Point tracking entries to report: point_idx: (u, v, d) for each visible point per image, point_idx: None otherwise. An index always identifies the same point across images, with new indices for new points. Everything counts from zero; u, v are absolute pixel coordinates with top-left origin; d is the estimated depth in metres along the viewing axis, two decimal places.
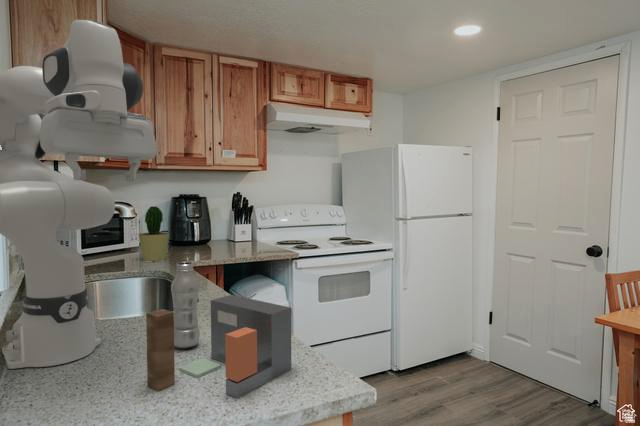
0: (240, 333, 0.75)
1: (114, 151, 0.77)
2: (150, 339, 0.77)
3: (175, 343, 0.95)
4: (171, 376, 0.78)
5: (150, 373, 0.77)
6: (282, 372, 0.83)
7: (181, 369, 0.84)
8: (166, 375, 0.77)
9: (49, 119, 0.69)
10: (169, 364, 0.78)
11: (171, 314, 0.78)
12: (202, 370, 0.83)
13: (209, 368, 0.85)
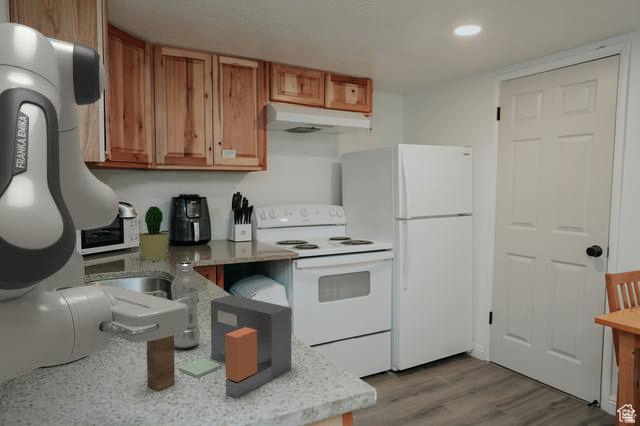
0: (240, 333, 0.75)
1: None
2: None
3: (175, 343, 0.95)
4: (171, 376, 0.78)
5: (150, 373, 0.77)
6: (282, 372, 0.83)
7: (181, 369, 0.84)
8: (166, 375, 0.77)
9: None
10: (169, 364, 0.78)
11: None
12: (202, 370, 0.83)
13: (209, 368, 0.85)
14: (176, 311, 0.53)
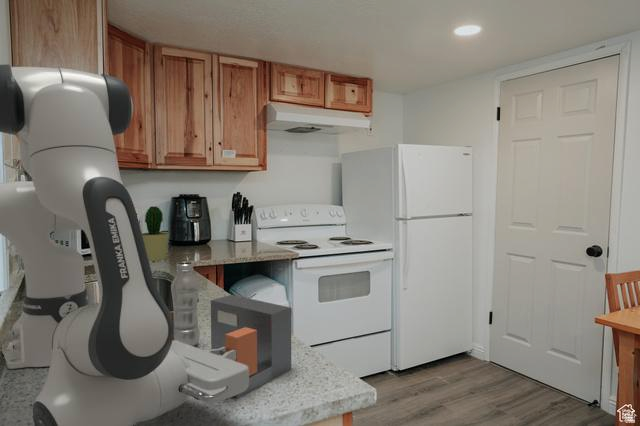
0: (240, 333, 0.75)
1: None
2: None
3: None
4: None
5: None
6: (282, 372, 0.83)
7: None
8: None
9: None
10: None
11: (171, 314, 0.78)
12: None
13: None
14: (240, 373, 0.62)
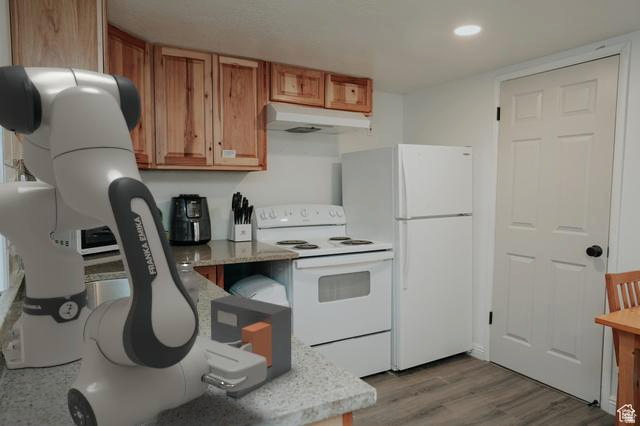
0: (256, 327, 0.78)
1: None
2: None
3: None
4: None
5: None
6: (282, 372, 0.83)
7: None
8: None
9: None
10: None
11: None
12: None
13: None
14: (259, 364, 0.65)
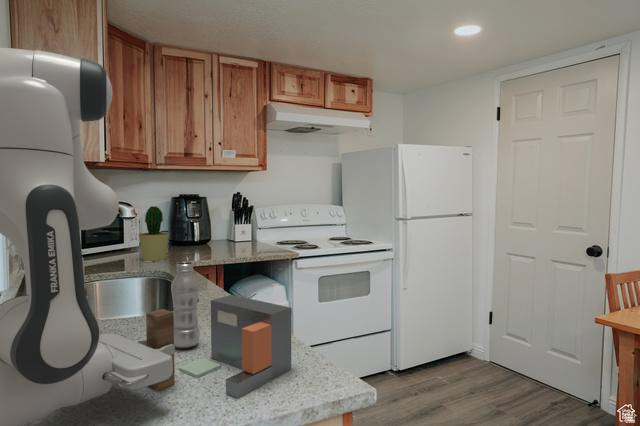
0: (256, 327, 0.78)
1: None
2: (150, 339, 0.77)
3: (175, 343, 0.95)
4: (171, 376, 0.78)
5: None
6: (282, 372, 0.83)
7: (181, 369, 0.84)
8: None
9: None
10: None
11: (171, 314, 0.78)
12: (202, 370, 0.83)
13: (209, 368, 0.85)
14: (162, 363, 0.67)
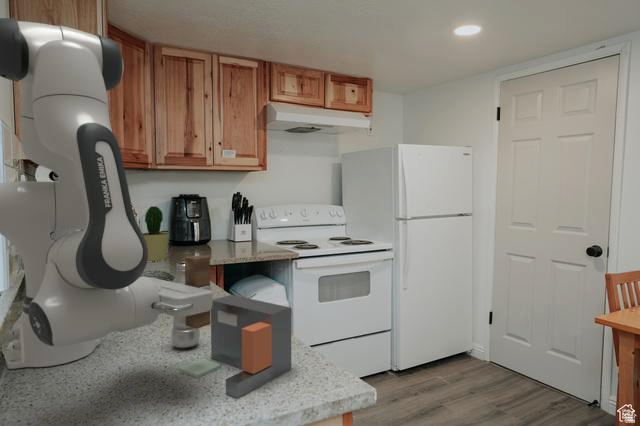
0: (256, 327, 0.78)
1: None
2: (188, 281, 0.83)
3: (175, 343, 0.95)
4: (207, 316, 0.85)
5: None
6: (282, 372, 0.83)
7: (181, 369, 0.84)
8: (203, 314, 0.84)
9: None
10: None
11: (207, 259, 0.84)
12: (202, 370, 0.83)
13: (209, 368, 0.85)
14: (204, 295, 0.74)
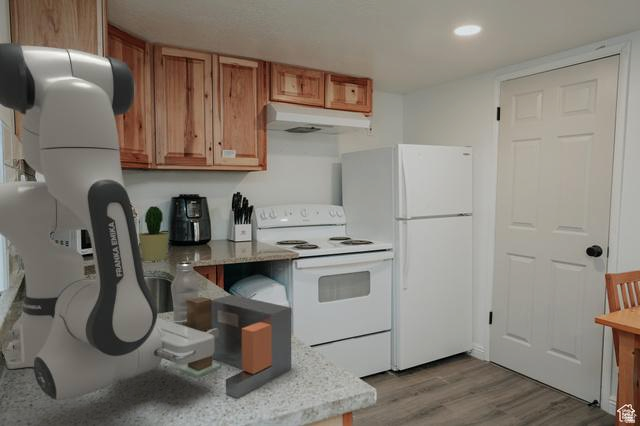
0: (256, 327, 0.78)
1: None
2: (190, 323, 0.84)
3: None
4: (209, 358, 0.85)
5: None
6: (282, 372, 0.83)
7: (181, 369, 0.84)
8: None
9: None
10: None
11: (209, 301, 0.85)
12: (202, 370, 0.83)
13: (209, 368, 0.85)
14: (207, 341, 0.74)
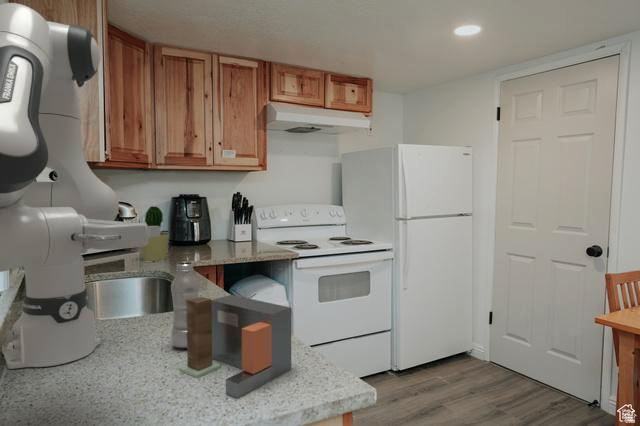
0: (256, 327, 0.78)
1: None
2: (190, 323, 0.84)
3: (175, 343, 0.95)
4: (209, 358, 0.85)
5: (190, 355, 0.84)
6: (282, 372, 0.83)
7: (181, 369, 0.84)
8: (205, 356, 0.84)
9: None
10: (207, 346, 0.85)
11: (209, 301, 0.85)
12: (202, 370, 0.83)
13: (209, 368, 0.85)
14: (136, 227, 0.63)
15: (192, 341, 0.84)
